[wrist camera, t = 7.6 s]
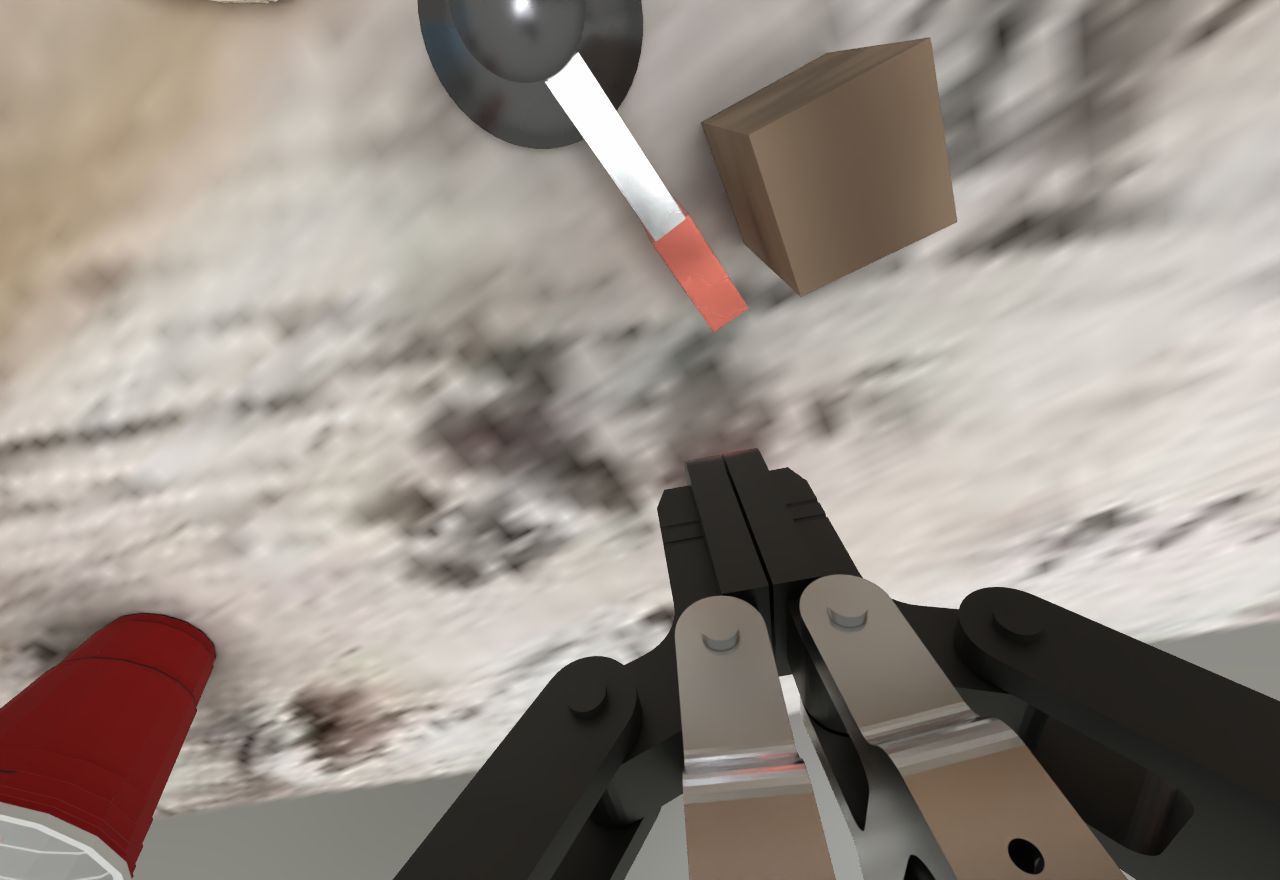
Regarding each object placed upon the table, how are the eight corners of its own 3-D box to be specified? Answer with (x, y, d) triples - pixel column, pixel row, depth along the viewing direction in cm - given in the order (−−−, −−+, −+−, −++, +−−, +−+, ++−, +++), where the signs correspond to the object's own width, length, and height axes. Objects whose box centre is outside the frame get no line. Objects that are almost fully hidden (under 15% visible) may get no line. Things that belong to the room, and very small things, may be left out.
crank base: (487, -178, 16) (438, -324, 11) (678, -4, 19) (722, -45, 13) (395, 60, 19) (315, 49, 13) (572, 184, 22) (570, 219, 16)
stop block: (827, 53, 20) (930, 37, 14) (858, 187, 23) (956, 221, 17) (700, 122, 21) (748, 135, 15) (745, 244, 23) (801, 296, 18)
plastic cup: (167, 553, 29) (-52, 799, 19) (300, 669, 35) (186, 906, 25) (-5, 612, 30) (-300, 876, 20) (151, 716, 36) (-16, 962, 26)
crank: (547, 86, 19) (541, 86, 16) (581, 55, 19) (582, 48, 15) (697, 301, 24) (715, 334, 20) (727, 280, 23) (750, 309, 20)
